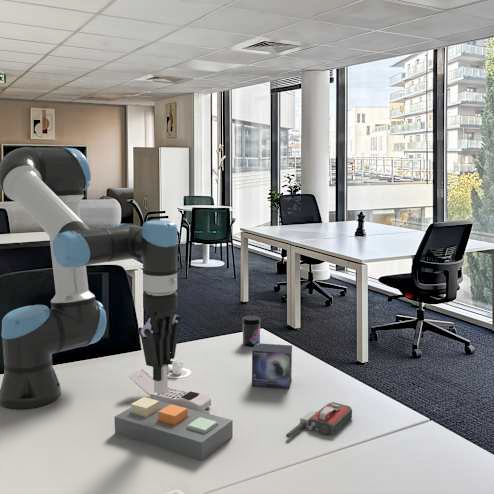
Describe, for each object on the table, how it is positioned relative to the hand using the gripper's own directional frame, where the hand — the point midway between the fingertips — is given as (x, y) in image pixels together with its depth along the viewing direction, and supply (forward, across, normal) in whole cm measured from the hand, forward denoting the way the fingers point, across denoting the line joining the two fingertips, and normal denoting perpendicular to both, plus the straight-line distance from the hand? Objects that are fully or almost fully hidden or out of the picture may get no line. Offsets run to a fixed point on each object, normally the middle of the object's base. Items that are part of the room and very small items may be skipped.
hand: (160, 392), depth 134 cm
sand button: (+8, 0, +4) cm, 9 cm away
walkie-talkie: (+9, +20, -31) cm, 38 cm away
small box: (+10, +38, -9) cm, 40 cm away
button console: (+9, 0, -4) cm, 10 cm away
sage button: (+9, -1, -12) cm, 15 cm away
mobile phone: (+10, +14, +7) cm, 19 cm away
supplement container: (+11, +65, +12) cm, 67 cm away
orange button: (+8, 0, -4) cm, 9 cm away
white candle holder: (+11, +34, +18) cm, 40 cm away
